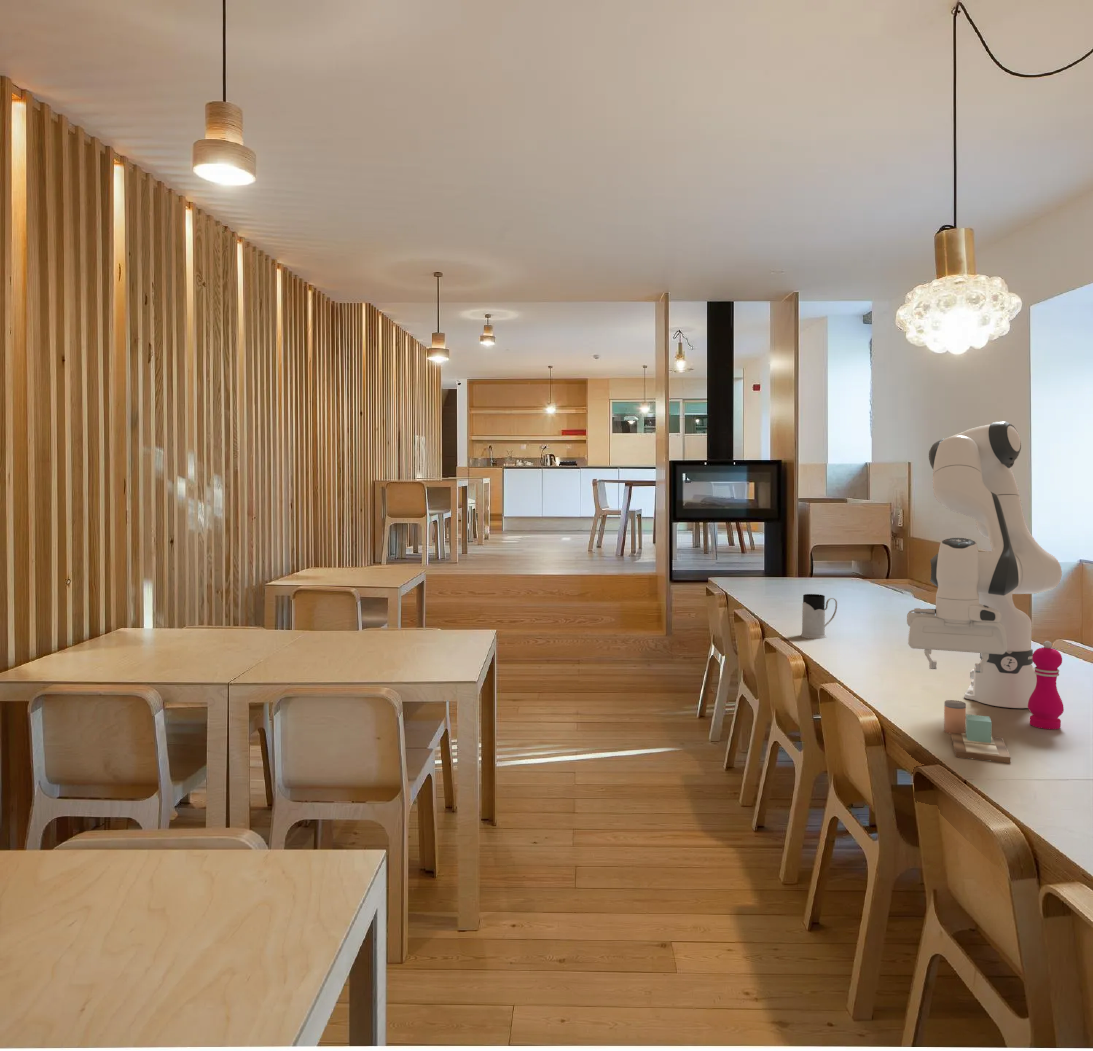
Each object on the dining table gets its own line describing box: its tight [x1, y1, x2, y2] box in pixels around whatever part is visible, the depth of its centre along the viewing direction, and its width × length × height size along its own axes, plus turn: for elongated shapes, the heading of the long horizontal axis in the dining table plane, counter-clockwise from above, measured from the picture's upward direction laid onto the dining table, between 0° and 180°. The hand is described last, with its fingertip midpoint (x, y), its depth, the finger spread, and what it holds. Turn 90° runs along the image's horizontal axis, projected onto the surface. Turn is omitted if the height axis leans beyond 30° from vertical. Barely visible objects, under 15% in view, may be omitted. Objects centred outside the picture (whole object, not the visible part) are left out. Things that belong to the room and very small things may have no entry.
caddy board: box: [950, 732, 1012, 764], centre depth 179 cm, size 14×10×1 cm
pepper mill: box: [1027, 640, 1065, 730], centre depth 196 cm, size 7×7×20 cm
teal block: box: [965, 713, 993, 743], centre depth 182 cm, size 4×4×4 cm
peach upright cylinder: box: [943, 699, 967, 735], centre depth 192 cm, size 4×4×7 cm
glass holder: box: [800, 593, 838, 640], centre depth 306 cm, size 9×14×15 cm, turn 107°
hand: (955, 670), depth 191 cm, fingers open, 8 cm apart
